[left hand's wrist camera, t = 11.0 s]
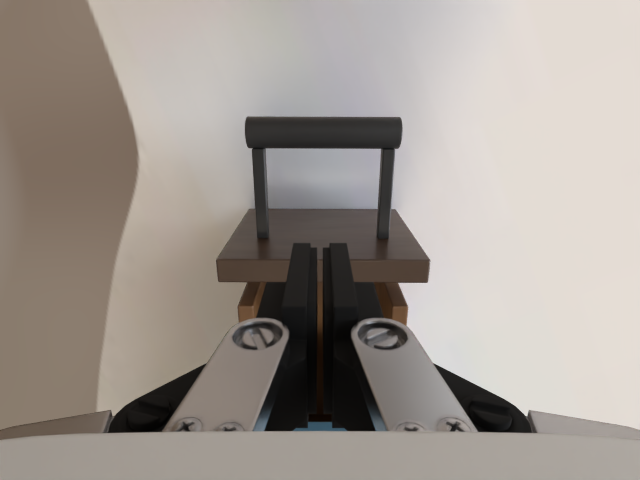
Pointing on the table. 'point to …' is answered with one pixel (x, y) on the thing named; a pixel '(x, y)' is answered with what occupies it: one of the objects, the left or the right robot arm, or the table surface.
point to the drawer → (324, 223)
